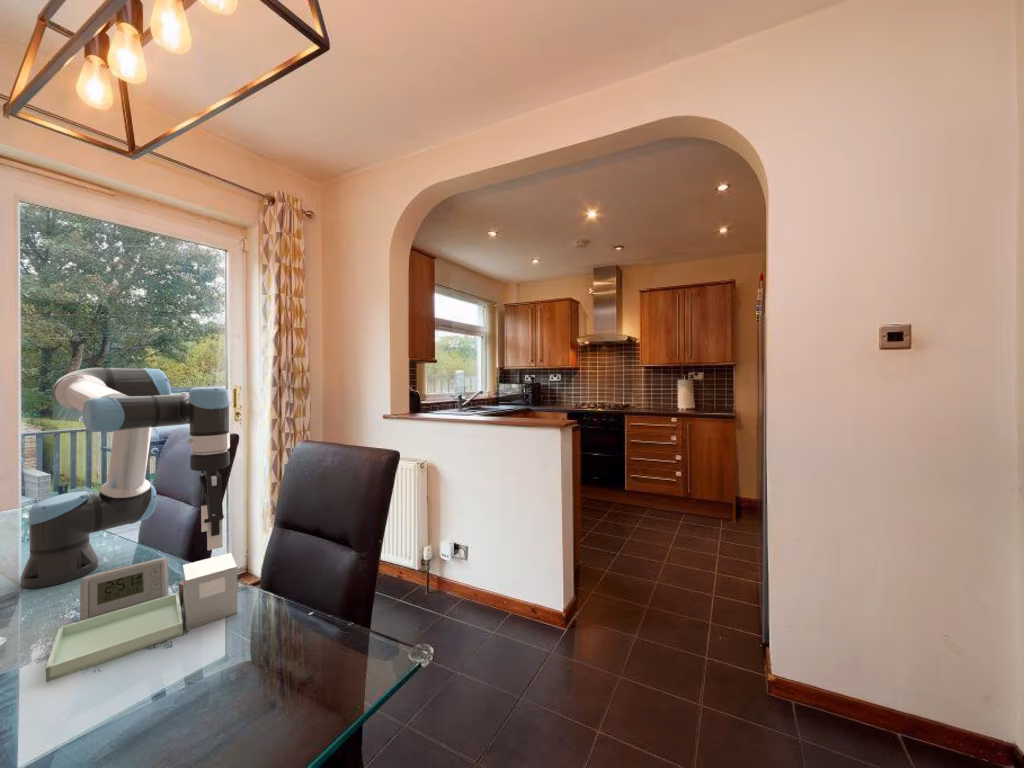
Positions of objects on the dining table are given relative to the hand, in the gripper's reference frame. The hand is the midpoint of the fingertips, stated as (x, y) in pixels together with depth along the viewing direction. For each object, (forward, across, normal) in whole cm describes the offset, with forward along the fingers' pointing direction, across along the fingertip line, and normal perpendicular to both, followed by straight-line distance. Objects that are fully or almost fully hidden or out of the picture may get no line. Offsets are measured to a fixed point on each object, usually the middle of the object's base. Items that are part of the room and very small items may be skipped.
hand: (211, 539), depth 94 cm
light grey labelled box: (+21, -6, 0) cm, 22 cm away
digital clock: (+21, -22, -16) cm, 34 cm away
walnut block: (+21, -16, -2) cm, 27 cm away
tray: (+21, -8, -16) cm, 27 cm away
